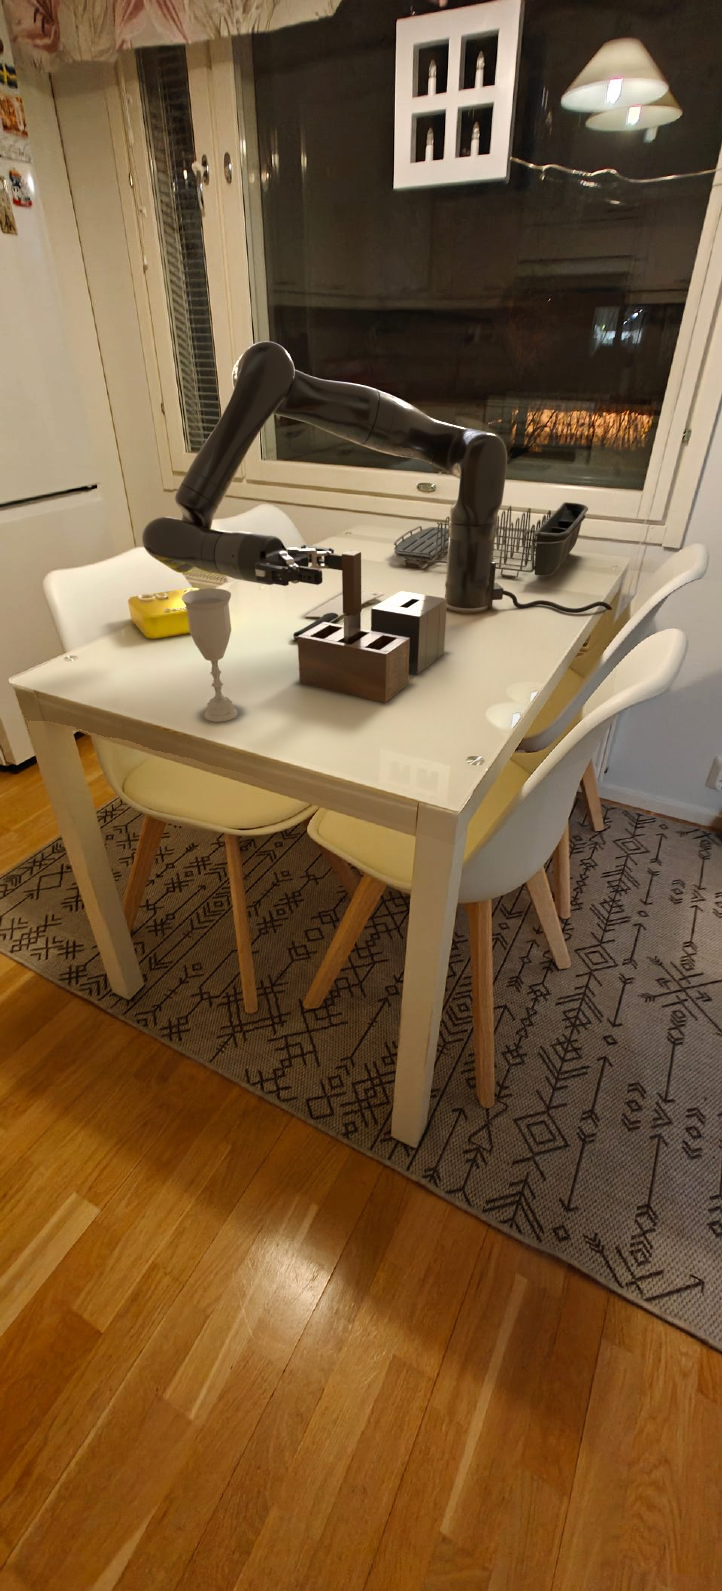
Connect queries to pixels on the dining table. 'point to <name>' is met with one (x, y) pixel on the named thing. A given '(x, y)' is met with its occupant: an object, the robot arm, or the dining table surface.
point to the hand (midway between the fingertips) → (336, 570)
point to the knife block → (414, 625)
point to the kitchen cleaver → (333, 610)
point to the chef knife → (351, 595)
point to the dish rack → (549, 544)
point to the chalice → (211, 641)
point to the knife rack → (354, 662)
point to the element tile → (160, 613)
